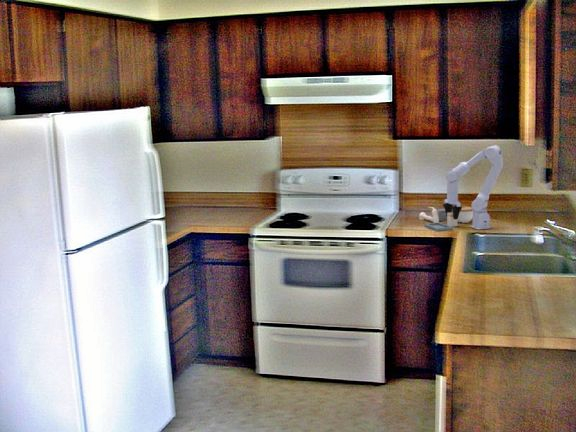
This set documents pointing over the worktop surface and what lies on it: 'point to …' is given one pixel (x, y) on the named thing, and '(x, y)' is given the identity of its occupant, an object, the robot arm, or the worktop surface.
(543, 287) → the worktop surface
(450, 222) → the cartridge
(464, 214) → the lidded jar
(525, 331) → the worktop surface
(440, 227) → the tray
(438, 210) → the block
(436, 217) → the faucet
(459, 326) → the worktop surface
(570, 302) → the worktop surface
